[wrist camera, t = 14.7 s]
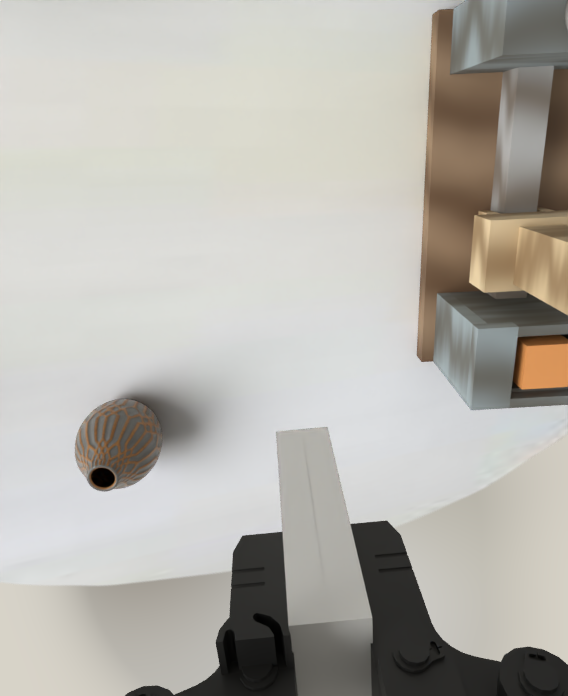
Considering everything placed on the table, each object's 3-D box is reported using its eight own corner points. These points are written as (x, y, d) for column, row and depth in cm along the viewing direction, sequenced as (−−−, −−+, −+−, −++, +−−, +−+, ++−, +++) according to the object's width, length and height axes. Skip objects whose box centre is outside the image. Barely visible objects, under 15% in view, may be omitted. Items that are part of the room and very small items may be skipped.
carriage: (464, 211, 41) (559, 244, 28) (555, 206, 41) (693, 237, 28) (459, 276, 43) (547, 335, 29) (546, 271, 43) (672, 328, 30)
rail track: (432, 14, 38) (495, -34, 28) (600, 6, 38) (725, -44, 28) (416, 355, 47) (459, 415, 37) (551, 347, 47) (632, 405, 37)
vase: (178, 403, 48) (160, 456, 40) (154, 464, 50) (133, 526, 42) (103, 376, 47) (69, 426, 39) (81, 440, 49) (45, 499, 41)
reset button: (510, 333, 38) (527, 346, 36) (555, 331, 38) (574, 343, 36) (506, 374, 39) (521, 389, 37) (549, 372, 39) (567, 386, 37)
